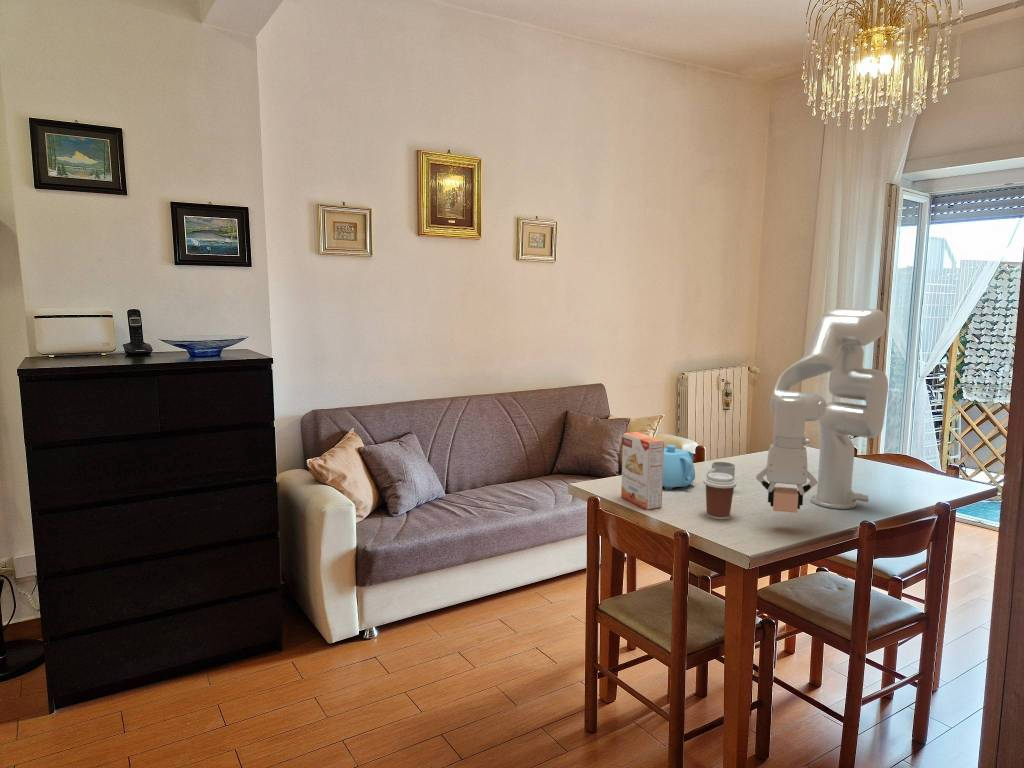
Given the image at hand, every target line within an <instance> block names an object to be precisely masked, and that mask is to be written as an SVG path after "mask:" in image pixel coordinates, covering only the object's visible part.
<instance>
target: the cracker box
mask: <svg viewBox="0 0 1024 768" xmlns="http://www.w3.org/2000/svg"><path fill="white" fill-rule="evenodd" d="M664 448H665V441H664V440H662V439H660V438H657V437H653V436H651V435H648V434H645V433H643V432H639V431H634V432H633V431H632V432H624V433H623V434H622V455H621V457H622V460H621V461H622V462H621V492H620V493H621V495H620V496H621V498H623V499H625V500H627V501H628V502H630V503H633V504H634V505H636V506H638V507H640V508H642V509H644V510H646V511H647V510H648V511H649V510H655V509H661V508H662V507H663V506H662V505H663V504H662V503H663V486H662V485H663V459H664Z"/></svg>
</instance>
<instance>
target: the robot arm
mask: <svg viewBox="0 0 1024 768" xmlns="http://www.w3.org/2000/svg"><path fill="white" fill-rule="evenodd" d="M887 324H888V323H887V317H886V314H885V313H884V312H883V311H882V310H880V309H877V308H876V309H875V308H832V309H831V308H830V309H829V310H826V311H825V312H824V313H823V315H822V317H820V318H819V319H817V321H816V323H815V326H814V328H813V330H812V333H811V336H810V337H809V338H810V339H809V341H808V344H807V346H806V348H805V352H804V353H803V354H804V355H803V356H802V358H800V359H799V360H797V361H796V362H794V363H792V364H791V365H790V366H788V368H786V369H785V370H784V371H783V372H782V373H780V375H779V376H778V378H777V379H776V381H775V384H774V387H773V389H772V392H771V396H770V398H769V409H770V412H771V413H772V414H773V415H774V419H773V420H774V421H773V422H774V423H773V442H772V443H771V444H770V445H769V448H768V453H767V460H766V461H767V462H766V467H765V468H764V469H763V470H761V471H760V472H759V473H757V474H756V476H755V479H756V480H757V481H758V482H759V483H760V484H761V486H763V487H764V488H765V489H766V490H767V503H770V505H769V506H770V507H772V508H773V501H774V490H773V488H774V486H775V487H776V484H786V485H796V487H797V491H798V510H800V509H801V506H803V505H804V496H805V493H807V492H809V490H811V489H812V488H813V487H815V486H816V485H817V486H816V487H817V489H816V493H815V494H812V495H811V496H810V501H811V502H812V503H813V504H815V505H817V506H821V507H824V508H825V507H826V508H829V509H838V510H839V509H840V510H849V509H854V508H855V507H857V501H858V502H863V503H864V502H866V503H868V502H869V495H867V494H865V495H864V494H863V493H855V492H854V491H853V490H852V484H853V474H854V473H853V471H854V464H855V463H854V462H855V446H854V443H853V441H852V440H851V439H850V437H849V436H854V437H860V438H866V439H875V438H878V437H879V436H880V435H881V433H882V432H883V428H884V423H885V416H886V408H887V407H886V406H887V400H888V392H889V381H888V380H889V379H888V377H887V375H886V373H885V372H884V371H882V370H879V369H876V368H875V369H873V368H863V363H864V356H865V355H864V354H865V352H864V349H863V347H865V346H867V345H869V344H871V343H873V342H874V341H876V340H878V339H880V338H881V337H882V336H883V334H884V333H885V331H886V327H887ZM827 373H829V379H828V390H829V393H830V395H832V396H833V397H837V398H842V399H849V400H855V401H856V400H857V401H858V400H859V401H864V402H865V403H866V404H857V403H856V404H855V403H850V402H841V401H829V402H826V400H825V398H824V397H823V396H822V395H820V394H817V393H814V392H813V393H811V392H804V391H795V390H792V388H793V387H794V386H796V385H797V384H798V383H800V382H803V381H805V380H807V379H811V378H814V377H818V376H821V375H825V374H827ZM814 421H815V422H816V421H819V422H818V423H819V430H820V431H819V432H820V441H819V442H820V443H819V445H820V446H819V459H818V471H817V472H818V474H817V475H818V476H817V479H816V478H815V476H813V475H812V473H810V472H809V470H808V451H807V448H806V446H805V445H809V444H810V442H811V441H810V440H811V439H810V438H807V437H805V427H806V426H805V425H806V424H805V423H806V422H814ZM764 477H766V479H764ZM807 480H809V482H808V481H807ZM807 482H808V483H807Z"/></svg>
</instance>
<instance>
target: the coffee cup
mask: <svg viewBox="0 0 1024 768" xmlns="http://www.w3.org/2000/svg"><path fill="white" fill-rule="evenodd" d="M706 477H707V478H706ZM706 477H705V478H704V479H703V484H704V485H705V501H706V502H705V505H706V516H707V517H708V518H709V519H713V520H728V519H730V517H731V510H732V502H733V496H734V489H735V487H737V484H738V483H737V482H736V481H735V479H734V480H733V477H732V476H731V475H729V474H725V473H709V474H708V475H707V474H706Z"/></svg>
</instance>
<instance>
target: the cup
mask: <svg viewBox="0 0 1024 768" xmlns="http://www.w3.org/2000/svg"><path fill="white" fill-rule="evenodd" d="M735 472H736V464H735V463H733V462H732V463H731V462H726V461H714V462H711V469H709V470H708V471H707V474H706V477H705V478H707V475H708V474H709V473H725V474H729V475H731V476H732V477H733V480H734V481H735Z"/></svg>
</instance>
